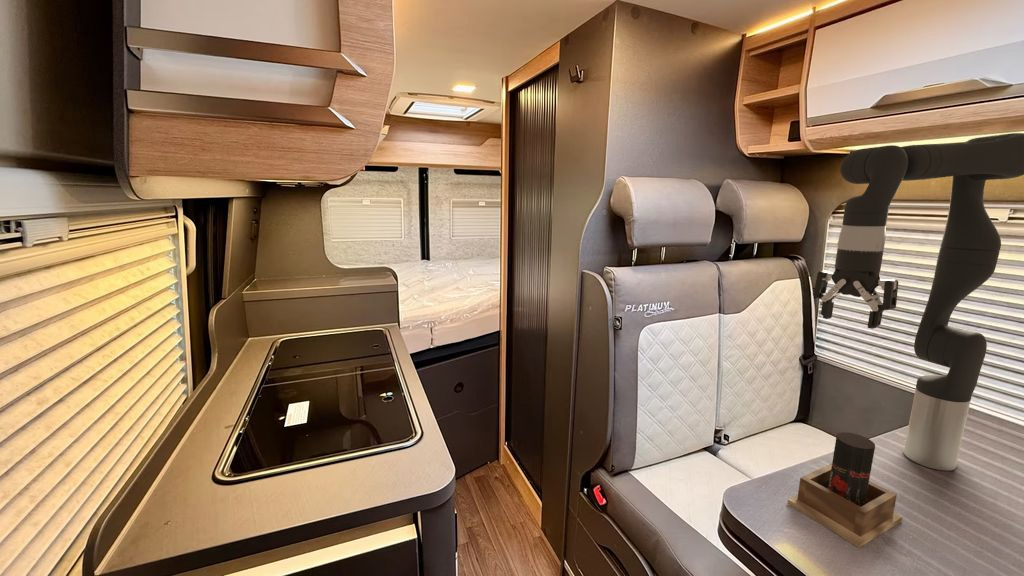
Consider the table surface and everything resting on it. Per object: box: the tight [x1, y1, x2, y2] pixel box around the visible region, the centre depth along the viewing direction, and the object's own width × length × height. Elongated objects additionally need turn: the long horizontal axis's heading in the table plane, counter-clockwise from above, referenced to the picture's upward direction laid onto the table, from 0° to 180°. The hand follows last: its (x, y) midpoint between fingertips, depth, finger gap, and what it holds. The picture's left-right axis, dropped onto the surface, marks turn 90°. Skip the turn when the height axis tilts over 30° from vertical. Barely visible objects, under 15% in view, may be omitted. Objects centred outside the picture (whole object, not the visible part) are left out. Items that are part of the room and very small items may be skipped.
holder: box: [787, 462, 903, 549], centre depth 86 cm, size 15×13×6 cm
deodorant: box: [828, 431, 876, 507], centre depth 85 cm, size 6×6×15 cm
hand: (848, 322), depth 92 cm, fingers open, 8 cm apart
